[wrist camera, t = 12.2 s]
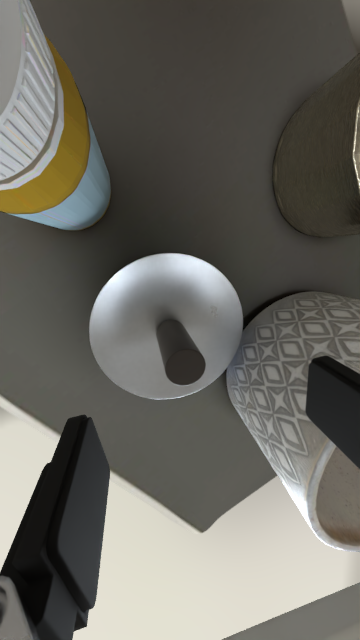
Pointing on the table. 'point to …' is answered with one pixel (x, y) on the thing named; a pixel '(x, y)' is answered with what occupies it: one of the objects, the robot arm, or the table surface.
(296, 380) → the planter
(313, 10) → the table surface
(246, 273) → the table surface
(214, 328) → the lid
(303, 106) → the pot
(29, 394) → the table surface
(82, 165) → the bottle
